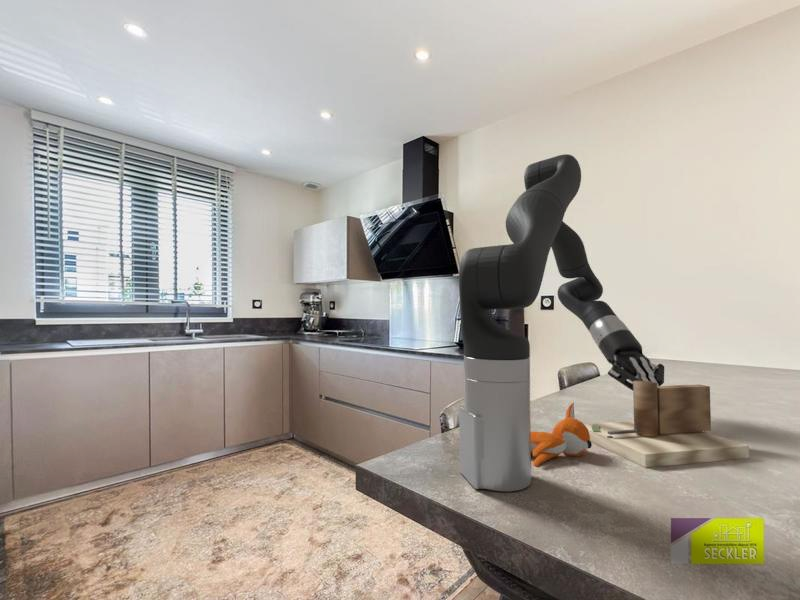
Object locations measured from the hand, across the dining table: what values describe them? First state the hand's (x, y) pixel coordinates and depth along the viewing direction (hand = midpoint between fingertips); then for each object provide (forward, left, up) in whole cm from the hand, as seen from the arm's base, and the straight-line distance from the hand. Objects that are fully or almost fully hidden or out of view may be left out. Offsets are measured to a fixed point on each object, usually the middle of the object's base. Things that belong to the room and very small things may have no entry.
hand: (662, 406), depth 75 cm
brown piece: (-6, -5, -3) cm, 9 cm away
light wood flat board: (-7, -5, -5) cm, 10 cm away
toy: (-30, 0, -6) cm, 31 cm away
